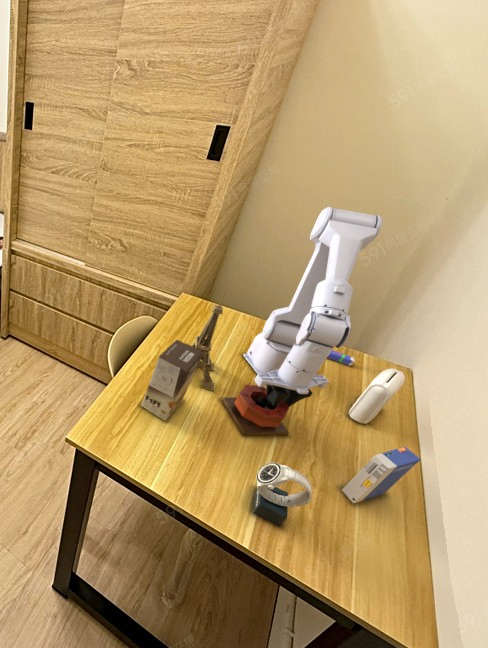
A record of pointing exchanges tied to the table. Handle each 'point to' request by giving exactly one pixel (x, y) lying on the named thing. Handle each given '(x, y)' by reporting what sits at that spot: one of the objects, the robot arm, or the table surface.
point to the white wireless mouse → (377, 395)
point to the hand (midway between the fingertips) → (274, 406)
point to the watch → (278, 492)
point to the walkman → (380, 474)
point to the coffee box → (171, 378)
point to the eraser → (341, 358)
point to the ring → (256, 412)
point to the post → (248, 426)
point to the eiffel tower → (207, 347)
